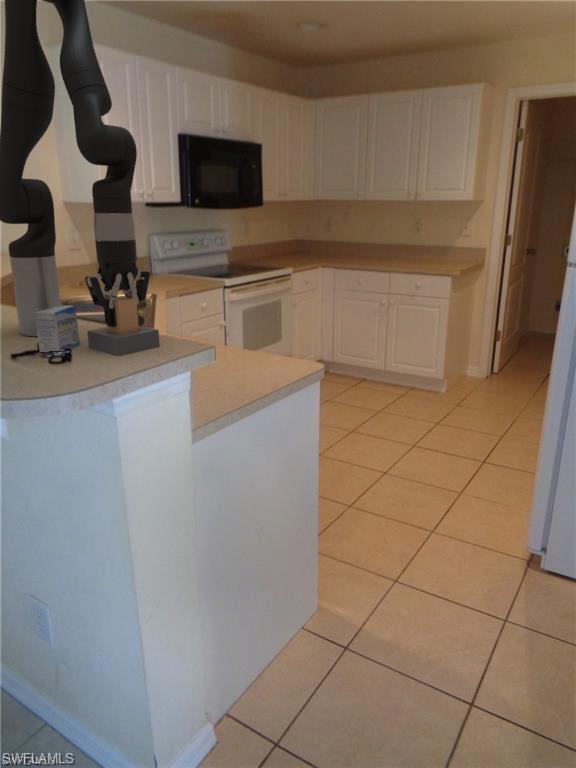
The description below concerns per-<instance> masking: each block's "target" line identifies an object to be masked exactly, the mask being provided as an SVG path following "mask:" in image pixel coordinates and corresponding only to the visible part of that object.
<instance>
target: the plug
mask: <svg viewBox="0 0 576 768" xmlns="http://www.w3.org/2000/svg"><path fill="white" fill-rule="evenodd" d="M114 308H115V313H116V327H110V326H108V324H106V327H107V331H108V332H112V333H116V334H125V333H130V332H135V331H139V326H140V325H139V318H138V314H139V312H138V313H137V299H136V298H131V297H125V295H120V296H119V295H118V296H117V297H116V299H115V305H114ZM138 325H139V326H138Z"/></svg>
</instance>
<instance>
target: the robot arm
mask: <svg viewBox="0 0 576 768" xmlns="http://www.w3.org/2000/svg"><path fill="white" fill-rule="evenodd" d="M41 1H43V2H46V3H49V4H53V6H54V7H55V9H56V12H57V14H58V16H59V18H60V20H61V25H62V28H63V29H62V31H63V33H62V34H63V35H62V42H61V47H60V53H59V70H60V74H61V77H62V81H63V84H64V86H65V90H66V92H67V94H68V97H69V100H70V103H71V105H72V108H73V109H72V110H73V120H74V130H75V131H74V132H75V139H76V140H75V141H76V145H77V147H78V151H79V152H80V154H81V155H82V157H83V159H85V160H86V161H87V162H88V163H90V164H91V165H94V166H104V167H107V168H106V173H105V176H104V178H103V179H99V180H95V182H93V183H92V187H91V189H92V191H91V192H92V193H91V195H92V205H93V216H94V217H93V230H94V241H95V250H96V251H95V252H96V261H97V262H98V263H97V264H98V270H97V271H96V272H97V273H96V274H95V273H94V275H91V276H90V275H89V276H88V275H87V276H85V277H84V281H85V285H86V286H87V289H88V293H89V295H90V297H91V299H92V302H93V304H94V305H95V306H96V307H97V306H99V307H101V308H103V311H104V312H103V313H104V322H105V324H106V325H107V324H108V326H110V327H116V313H115V308H114V305H115V299H116V297H119V292H120V291H121V292H122V294H123V295H124V296H125V297H131V298H136V299H137V313H138V319H139V318H140V316H139V303H141V301H145V300H146V299H147V294H148V288H149V281H150V276H151V272H149V271H147V270H146V271H145V270H140V269H139V268H138V267H137V264H136V262H137V261H138V257H137V256H138V255H137V253H138V252H137V242H136V240H137V239H136V226H135V221H134V215H133V206H132V205H133V204H132V192H131V191H132V186H133V181H134V176H135V171H136V163H137V156H138V155H137V154H138V153H137V152H138V150H137V145H136V141H135V139H134V137H133V134H132V133H131V132H130V131H129V130H128V129H126V127H122V126H118V125H111V124H110V125H109V124H104V121H103V120H102V119H103V118H102V117H104V116H106V115H107V114H108V113H109V112H110V111H111V109H112V106H113V104H112V98H111V95H110V92H109V89H108V86H107V83H106V81H105V77H104V75H103V72H102V69H101V67H100V63H99V60H98V58H97V57H98V56H97V54H96V51H95V46H94V43H93V42H94V41H93V38H92V33H91V28H90V23H89V17H88V12H87V7H86V2H85V0H41ZM37 3H38V0H4V19H5V23H4V24H5V26H4V28H5V30H4V31H5V32H4V33H5V35H4V56H3V57H4V58H3V59H4V60H3V70H2V79H1V80H2V81H1V83H2V84H1V85H2V86H1V103H0V104H1V105H0V106H1V107H0V108H1V111H0V112H1V113H0V114H1V115H0V222H1V223H3V224H4V223H5V224H7V225H26V224H27V230H26V232H25V233H24V234H23V235H22V236H20V237H19V238H17V239H14V240H13V241H11V242H10V243H9V244H8V253H9V254H8V255H9V262H10V268H11V273H12V274H11V275H12V281H13V288H14V300H15V307H16V313H17V321H18V328H19V333H20V335H22V336H28V337H38V336H37V329H36V322H35V315H34V313H35V312H39V311H42V310H45V309H48V308H51V307H55V306H59V305H62V303H61V295H60V294H61V293H60V286H59V278H58V277H59V276H58V269H57V260H56V251H55V249H56V248H55V246H56V243H57V241H56V240H57V234H56V222H55V206H54V198H53V194H52V192H51V189H50V187H49V186H48V184H47V183H46V182H45V181H44V180H41V179H37V178H36V179H35V178H23V175H24V170H25V165H26V163H27V160H28V158H29V156H30V154H31V152H33V150H34V148H35V147H36V145H37V144H38V143H39V142H40V141H41V140H42V138H43V136H44V135H45V133H46V132H47V130H48V129H49V127H50V125H51V122H52V120H53V118H54V117H53V115H54V105H55V96H56V83H55V78H54V77H55V76H54V74H53V72H52V69H51V66H50V63H49V61H48V59H47V56H46V54H45V52H44V49H43V46H42V44H41V41H40V37H39V33H38V28H37V26H38V25H37V5H38V4H37ZM135 280H136V281H135ZM102 283H103V287H102V286H101V285H102ZM101 287H102V288H101Z"/></svg>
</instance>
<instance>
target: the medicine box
mask: <svg viewBox="0 0 576 768" xmlns="http://www.w3.org/2000/svg"><path fill="white" fill-rule="evenodd" d="M34 315H35V322H36V329H37V336H36V337H37V342H38V350H39V353H40V352H49V351H59V350H61V349H62V348H69V350H71V349H74V348H76V347H78V346H81V342H80V334H79V325H78V324H79V323H78V316H77V315H78V314H77V308H76V306H75V305H66V304H65V305H64V304H61V305H59V306H55V307H51V308H48V309H45V310H42V311H39V312H35V313H34Z"/></svg>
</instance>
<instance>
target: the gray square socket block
mask: <svg viewBox="0 0 576 768" xmlns="http://www.w3.org/2000/svg"><path fill="white" fill-rule="evenodd" d="M138 326H139V331H135V332H130V333H125V334H116V333H112V332H108V331H107V326H106V327H101V328H95V329H90V330H87V331H86V333H87V339H88V340H87V341H88V348H89V349H91V350H95V351H99V352H103V353H106V354H109V355H113V356H115V357H121V356H125V355H130V354H134V353H138V352H142V351H143V352H144V351H147V350H150V349H156V348H160V333H159V332H160V331H159V329H157V328H152V327H147V326H143V325H139V324H138Z"/></svg>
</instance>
